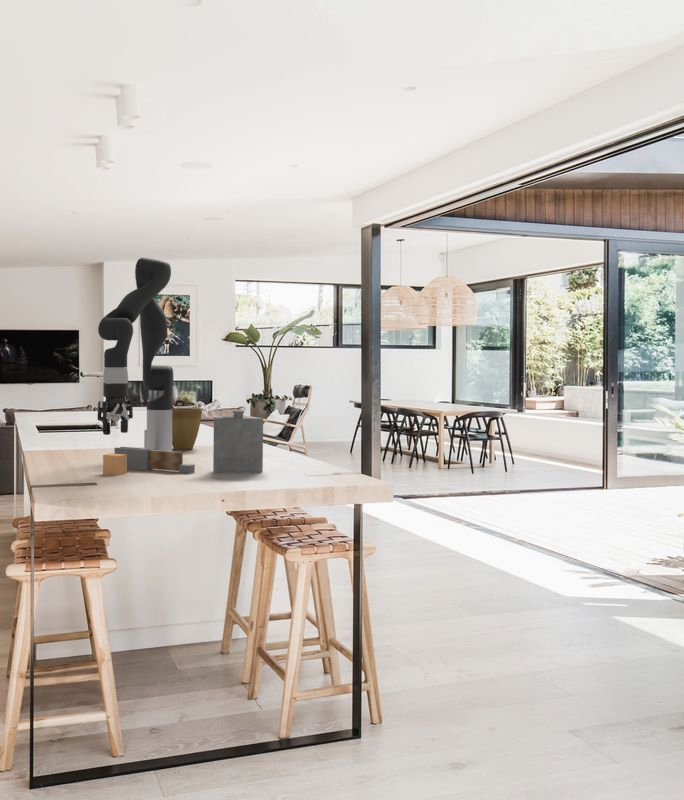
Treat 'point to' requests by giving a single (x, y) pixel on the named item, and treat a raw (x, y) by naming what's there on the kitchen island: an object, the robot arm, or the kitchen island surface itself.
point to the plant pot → (185, 427)
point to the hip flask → (238, 444)
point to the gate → (165, 460)
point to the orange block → (115, 464)
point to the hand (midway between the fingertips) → (115, 433)
